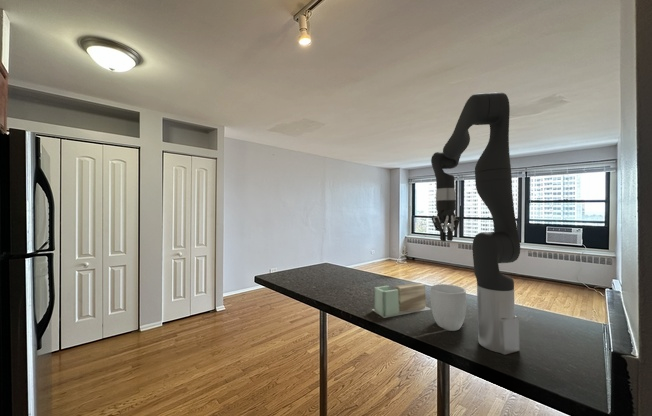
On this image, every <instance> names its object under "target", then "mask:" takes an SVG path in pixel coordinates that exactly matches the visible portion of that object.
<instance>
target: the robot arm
mask: <svg viewBox="0 0 652 416" xmlns="http://www.w3.org/2000/svg"><path fill="white" fill-rule="evenodd" d="M510 109H511V108H510V100H509V98H508V95H507V94H506V93H504V92H501V91H500V92H497V91H496V92H480V93H474V94H471V96H470V97H469V98H468V99H467V100H466V102H465V103H464V106H463V108H462V110H461V113H460V115H459V117H458V118H457V119H458V120H457V121H456V124H455V127H454V130H453V132H452V133H451V135H450V137H449V138H448V139H447V141H446V143H445V144H444V146H443V148H442V151H438V152H434V153H433V154H432V155H431V159H430V162H431V167H432V169H433V172H434V173H433V174H434V177H435V185H436V189H435V209H436V212H437V213H436V216H435V217H431V221H432V224H433V226H434V229H435V231H438V232H439V239H440V241H441V242H446V241H448V242H451V241H453V240H454V231H457V230H458V228H459V223H460V221H461V217H460V216H457V215H456V213H455V211H456V210H457V200H456V199H457V198H456V197H457V196H456V195H457V193H456V186H455V183H456V181H455V175H454V174H451V173H448V172H447V173H446V172H445V171H444V170H450V169H454V168H456V167H457V166H458V165H459V163H460V159H461V155H462V154H463V153H464V152H465V151H466V150H467V148H468V147H469V145H470V142H471V136H470V133H469V129H470V128H471V127H472V126H483V125H484V126H485V125H487V126H488V125H489V139H488V142H487V145H486V147H485V149H484V150H483V151H482V153H481V155H480V156H479V158H478V160H477V161H476V164H475V166H474V178H475V188H476V192H477V194H478V195H479V198H480V199H481V200H482V202H483V203H484V205H485V206H486V207H487V210H489V213H490V214H491V218H492V222H493V231H484V232H478V233H477V234H476V235H475V236H474V238H473V239H472V247H471V248H472V260H473V271H474V273H473V274H474V275H475V278H476V301H477V302H476V303H477V304H476V305H477V334H478V335H477V336H478V344H479V345H480V346H481V347H483V348H485V349H487V350H489V351H492V352H495V353H500V354H502V355H509V354H512V353H516V352H519V351H520V326H519V325H520V322H519V319H520V318H519V316H517V315H516V311H515V310H516V308H515V282H514V279H513V278H512V277H511V276H509V275H505V274H503V273H501V271H500V267H499V266H500V265H499V264H509V263H514V262H515V261H517V260H518V259H519V258H520V254H521V240H520V236H519V231H518V225H517V224H518V223H517V219H516V214H515V213H516V212H515V205H514V197H513V180H512V179H513V178H512V166H511V159H510V158H511V155H510V136H509V135H510Z"/></svg>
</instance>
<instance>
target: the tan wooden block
mask: <svg viewBox="0 0 652 416" xmlns="http://www.w3.org/2000/svg"><path fill="white" fill-rule="evenodd" d="M396 289H397V290H398V302H399V311H406V310H412V309H417V308H423V307H427V305H426V304H427V303H426V300H427V299H426V298H427V297H426V284H424V283H421V282H414V283H408V284H407V283H406V284H399V285H395V287H394V290H396Z"/></svg>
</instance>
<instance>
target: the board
mask: <svg viewBox="0 0 652 416" xmlns="http://www.w3.org/2000/svg"><path fill="white" fill-rule="evenodd" d="M430 310H431V307H428V306H426V307H423V308H417V309H412V310H406V311H399V314H394V315H388V316H383V315H381V314H380V313H378V312H377V311H375V308H372V309H371V311H373V312H374V313H376V314H377V315H379V316H381V317H382V318H384V319H385V318H391V317H397V316H401V315H408V314H412V313H418V312H419V313H420V312H423V311H430Z"/></svg>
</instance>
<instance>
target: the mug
mask: <svg viewBox="0 0 652 416" xmlns="http://www.w3.org/2000/svg"><path fill="white" fill-rule="evenodd" d="M466 292H467V291H466V289H465V288H464V287H462V286H458V285H455V284H454V285H453V284H444V283H442V284H441V283H439V284H433V285H432V286H430V306H431V307H430V309H431V311H432V312H431V313H432V316H433V319H434V321H435V323H436V325H437V326H438V327H440V328H442V329H444V330H445V331H449V332H451V331H452V332H455V331H458V330H460V329H461V328H462V326H463V324H464V322H465V317H466V313H467V306H468V300H467V293H466Z"/></svg>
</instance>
